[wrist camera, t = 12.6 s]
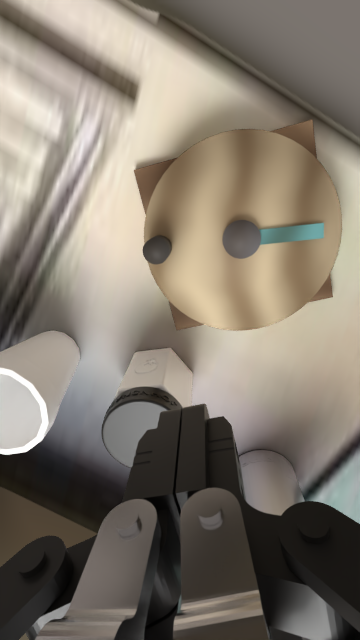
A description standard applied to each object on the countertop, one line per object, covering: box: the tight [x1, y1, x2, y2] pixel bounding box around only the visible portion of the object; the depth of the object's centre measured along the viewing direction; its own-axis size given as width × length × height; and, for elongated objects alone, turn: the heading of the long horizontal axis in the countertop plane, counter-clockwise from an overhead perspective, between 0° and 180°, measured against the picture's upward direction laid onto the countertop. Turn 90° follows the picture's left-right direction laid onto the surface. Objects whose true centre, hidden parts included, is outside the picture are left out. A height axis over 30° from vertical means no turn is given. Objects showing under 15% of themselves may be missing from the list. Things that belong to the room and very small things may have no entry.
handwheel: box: [143, 129, 342, 331], centre depth 32 cm, size 19×19×4 cm
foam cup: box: [0, 330, 80, 455], centre depth 37 cm, size 10×9×13 cm
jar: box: [102, 348, 193, 468], centre depth 38 cm, size 9×8×12 cm
